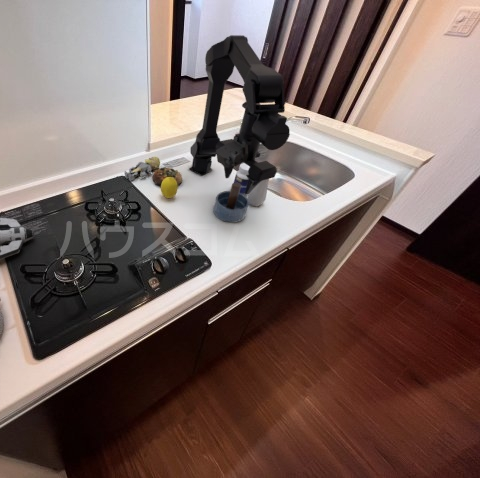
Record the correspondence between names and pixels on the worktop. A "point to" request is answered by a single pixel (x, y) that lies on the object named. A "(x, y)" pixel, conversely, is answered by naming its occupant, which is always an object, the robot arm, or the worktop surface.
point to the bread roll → (166, 175)
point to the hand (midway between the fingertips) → (236, 185)
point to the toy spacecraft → (13, 237)
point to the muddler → (233, 195)
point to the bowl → (227, 213)
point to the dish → (1, 321)
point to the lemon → (169, 187)
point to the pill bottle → (242, 177)
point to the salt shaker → (258, 193)
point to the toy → (143, 168)
